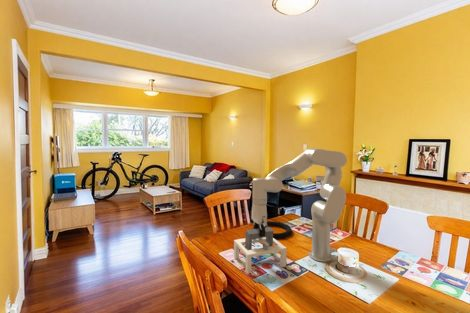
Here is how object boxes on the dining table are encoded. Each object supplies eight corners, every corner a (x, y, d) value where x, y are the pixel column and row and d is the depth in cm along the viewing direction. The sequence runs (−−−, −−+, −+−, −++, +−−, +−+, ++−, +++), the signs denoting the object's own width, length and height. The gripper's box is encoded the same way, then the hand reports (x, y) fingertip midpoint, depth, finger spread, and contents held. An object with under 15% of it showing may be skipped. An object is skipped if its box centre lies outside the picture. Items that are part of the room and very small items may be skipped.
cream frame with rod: (268, 250, 147) (269, 227, 145) (286, 266, 129) (286, 240, 128) (234, 257, 139) (234, 232, 138) (247, 274, 121) (247, 246, 120)
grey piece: (248, 255, 129) (249, 234, 127) (244, 250, 134) (245, 230, 132) (272, 251, 134) (273, 230, 132) (267, 246, 139) (268, 226, 137)
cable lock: (296, 224, 182) (284, 238, 156) (296, 229, 183) (284, 244, 156) (261, 218, 195) (245, 230, 169) (261, 223, 196) (244, 236, 169)
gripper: (246, 198, 138) (246, 229, 139) (260, 205, 122) (260, 241, 123) (258, 196, 141) (258, 227, 142) (273, 204, 125) (273, 239, 126)
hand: (259, 233), depth 133 cm, fingers open, 6 cm apart
